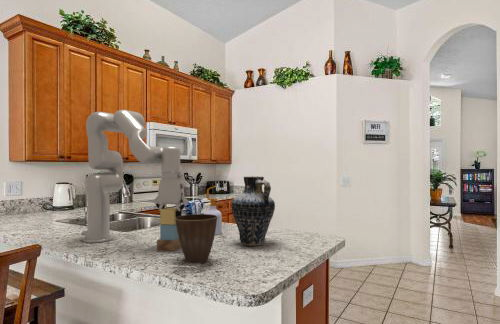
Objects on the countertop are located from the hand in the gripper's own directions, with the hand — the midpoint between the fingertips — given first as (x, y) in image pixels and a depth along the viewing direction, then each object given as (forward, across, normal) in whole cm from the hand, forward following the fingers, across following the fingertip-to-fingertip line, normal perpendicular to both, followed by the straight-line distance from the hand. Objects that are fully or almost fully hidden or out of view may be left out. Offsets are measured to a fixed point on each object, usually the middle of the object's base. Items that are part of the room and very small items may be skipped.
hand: (170, 219), depth 133 cm
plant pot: (+13, -17, +13) cm, 25 cm away
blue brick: (+8, 0, 0) cm, 8 cm away
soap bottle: (+13, -5, -36) cm, 38 cm away
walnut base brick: (+12, 0, 0) cm, 12 cm away
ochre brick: (+1, 0, 0) cm, 1 cm away
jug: (+13, -31, -18) cm, 38 cm away
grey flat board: (+12, 0, 0) cm, 12 cm away
